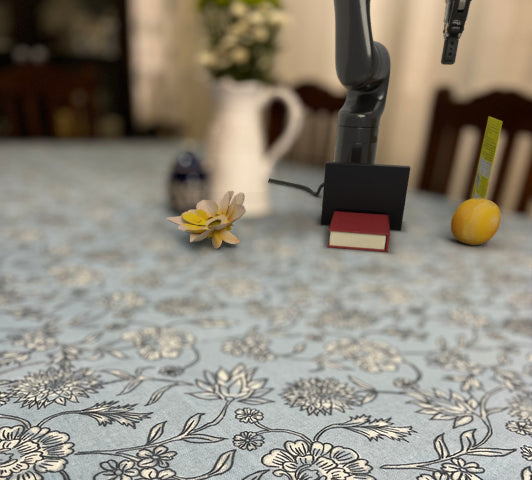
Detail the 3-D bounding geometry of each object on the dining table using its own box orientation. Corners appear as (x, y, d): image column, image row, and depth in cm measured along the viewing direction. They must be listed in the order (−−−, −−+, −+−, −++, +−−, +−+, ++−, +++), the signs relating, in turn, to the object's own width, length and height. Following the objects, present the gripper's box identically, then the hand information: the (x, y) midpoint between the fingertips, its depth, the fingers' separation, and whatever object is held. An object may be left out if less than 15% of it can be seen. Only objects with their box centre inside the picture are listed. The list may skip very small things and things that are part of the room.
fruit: (488, 252, 91) (499, 207, 88) (442, 244, 95) (451, 200, 91) (498, 241, 98) (508, 198, 94) (455, 234, 102) (463, 192, 98)
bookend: (400, 230, 103) (410, 167, 97) (320, 224, 105) (325, 162, 99) (399, 222, 109) (408, 162, 103) (323, 216, 111) (328, 157, 105)
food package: (481, 226, 107) (505, 121, 98) (476, 226, 108) (499, 121, 98) (471, 210, 121) (491, 116, 111) (466, 210, 121) (485, 116, 111)
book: (387, 252, 90) (390, 233, 89) (327, 247, 92) (328, 229, 90) (386, 231, 102) (388, 215, 101) (333, 227, 104) (334, 211, 102)
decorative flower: (159, 222, 96) (170, 167, 92) (216, 231, 101) (228, 180, 97) (179, 251, 85) (192, 190, 80) (242, 260, 90) (257, 203, 85)
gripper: (503, -73, 75) (476, 64, 83) (486, -53, 86) (464, 65, 95) (449, -73, 76) (428, 63, 84) (439, -53, 87) (422, 64, 96)
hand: (447, 64), depth 89 cm, fingers closed
